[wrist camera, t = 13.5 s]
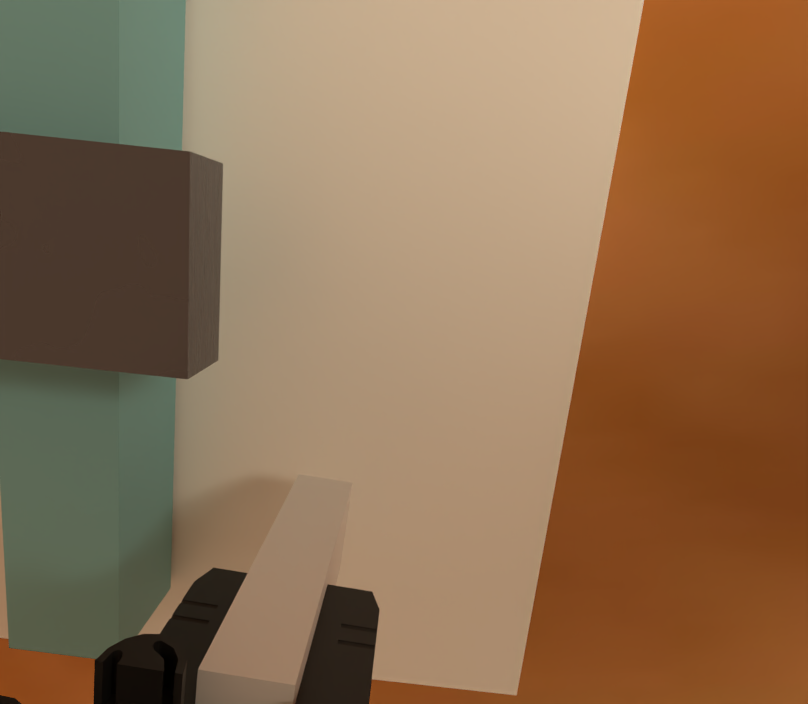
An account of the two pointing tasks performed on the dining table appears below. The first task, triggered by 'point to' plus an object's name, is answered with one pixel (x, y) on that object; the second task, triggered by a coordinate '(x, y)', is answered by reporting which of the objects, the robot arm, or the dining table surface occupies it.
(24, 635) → the latch bar
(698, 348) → the dining table surface
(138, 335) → the bar
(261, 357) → the base plate
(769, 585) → the dining table surface
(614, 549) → the dining table surface
